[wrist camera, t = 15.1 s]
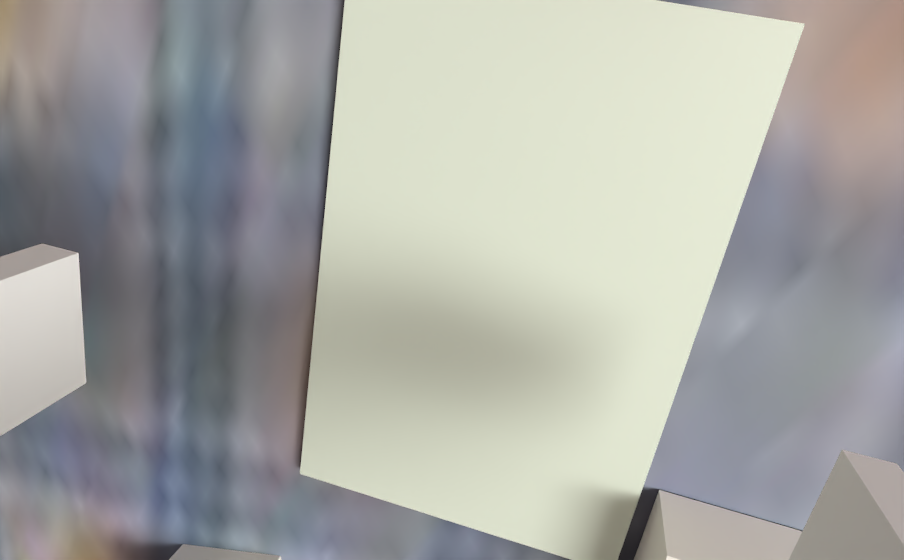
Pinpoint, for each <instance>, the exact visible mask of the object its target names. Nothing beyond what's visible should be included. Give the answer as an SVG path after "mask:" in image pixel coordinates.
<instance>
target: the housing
mask: <svg viewBox="0 0 904 560" xmlns="http://www.w3.org/2000/svg"><path fill="white" fill-rule="evenodd" d="M801 533H802V531H799V530H796V529H793V528H789V527H786V526H782V525H779V524H775V523H772V522H768V521H765V520H762V519H758V518H755V517H751V516H748V515H744V514H741V513H737V512H734V511H731V510H727V509H724V508H720V507H717V506H713V505H710V504H706V503H703V502H700V501H696V500H693V499H689V498H686V497H682V496H679V495H675V494H672V493H669V492H665V491H662V490H659V492H658V494H657V497H656V500H655V503H654V505H653V508H652V511H651V514H650V516H649V519H648V522H647V525H646V527H645V530H644V533H643V536H642V539H641V541H640V544H639V547H638V550H637V552H636V555H635V558H634V560H789V558H790V556H791V554H792V552H793V550H794V548H795V546H796V544H797V542H798V540H799V537H800V535H801Z"/></svg>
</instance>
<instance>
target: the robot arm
mask: <svg viewBox="0 0 904 560" xmlns="http://www.w3.org/2000/svg"><path fill="white" fill-rule="evenodd" d="M85 383H86V368H85V352H84V335H83V319H82V302H81V286H80V269H79V253H77V252H73V251H69V250H66V249H62V248H58V247H54V246H50V245H46V244H39V245H36V246H33V247H29V248H26V249H23V250H20V251H17V252H14V253H10V254H7V255H4V256H1V257H0V436H1V435H3V434H4V433H6V432H8V431H9V430H11V429H13V428H14V427H16V426H17V425H19V424H21V423H22V422H24V421H25V420H27V419H29V418H30V417H32V416H34V415H35V414H37V413H38V412H40V411H42V410H43V409H45V408H47V407H48V406H50V405H51V404H53V403H55V402H56V401H58V400H60V399H61V398H63V397H64V396H66V395H68V394H69V393H71V392H73V391H74V390H76V389H77V388H79V387H81V386H82V385H84V384H85ZM789 560H904V472H903V471H902V470H901V469H900V467H899V466H898V465H897V464H896V463H892V462H888V461H884V460H880V459H876V458H872V457H869V456H865V455H861V454H857V453H853V452H849V451H845V450H842V451H841V453H840V455H839V457H838V459H837V461H836V463H835V465H834V467H833V469H832V472H831V474H830V476H829V478H828V480H827V482H826V484H825V486H824V488H823V490H822V492H821V494H820V496H819V498H818V500H817V502H816V505H815V507H814V509H813V511H812V513H811V515H810V517H809V519H808V521H807V523H806V525H805V527H804V529H803V531H802V533H801V535H800V537H799V540H798V542H797V544H796V546H795V548H794V550H793V552H792V554H791V556H790V558H789Z"/></svg>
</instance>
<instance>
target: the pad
mask: <svg viewBox="0 0 904 560" xmlns="http://www.w3.org/2000/svg"><path fill="white" fill-rule="evenodd" d="M804 25H805V24H802V23H796V22H790V21H783V20H777V19H771V18H764V17H758V16H752V15H745V14H739V13H733V12H726V11H720V10H714V9H707V8H701V7H695V6H689V5H682V4H676V3H670V2H663V1H657V0H345V2H344V13H343V24H342V34H341V45H340V55H339V66H338V76H337V87H336V98H335V108H334V119H333V129H332V140H331V150H330V161H329V172H328V182H327V193H326V203H325V214H324V224H323V235H322V246H321V256H320V267H319V277H318V288H317V298H316V309H315V320H314V330H313V341H312V351H311V362H310V372H309V383H308V394H307V404H306V415H305V425H304V436H303V447H302V457H301V468H300V474H302V475H306V476H309V477H312V478H315V479H318V480H321V481H325V482H328V483H331V484H334V485H337V486H340V487H343V488H347V489H350V490H353V491H356V492H359V493H362V494H366V495H369V496H372V497H375V498H378V499H381V500H385V501H388V502H391V503H394V504H397V505H400V506H404V507H407V508H410V509H413V510H416V511H419V512H422V513H426V514H429V515H432V516H435V517H438V518H441V519H445V520H448V521H451V522H454V523H457V524H460V525H464V526H467V527H470V528H473V529H476V530H479V531H482V532H486V533H489V534H492V535H495V536H498V537H501V538H505V539H508V540H511V541H514V542H517V543H520V544H524V545H527V546H530V547H533V548H536V549H539V550H542V551H546V552H549V553H552V554H555V555H558V556H561V557H565V558H568V559H571V560H618V557H619V554H620V552H621V549H622V546H623V543H624V540H625V537H626V534H627V532H628V529H629V526H630V523H631V520H632V517H633V514H634V511H635V509H636V506H637V503H638V500H639V497H640V494H641V491H642V489H643V486H644V483H645V480H646V477H647V474H648V471H649V469H650V466H651V463H652V460H653V457H654V454H655V451H656V448H657V446H658V443H659V440H660V437H661V434H662V431H663V428H664V426H665V423H666V420H667V417H668V414H669V411H670V408H671V406H672V403H673V400H674V397H675V394H676V391H677V388H678V385H679V383H680V380H681V377H682V374H683V371H684V368H685V365H686V363H687V360H688V357H689V354H690V351H691V348H692V345H693V343H694V340H695V337H696V334H697V331H698V328H699V325H700V323H701V320H702V317H703V314H704V311H705V308H706V305H707V302H708V300H709V297H710V294H711V291H712V288H713V285H714V282H715V280H716V277H717V274H718V271H719V268H720V265H721V262H722V260H723V257H724V254H725V251H726V248H727V245H728V242H729V239H730V237H731V234H732V231H733V228H734V225H735V222H736V219H737V217H738V214H739V211H740V208H741V205H742V202H743V199H744V197H745V194H746V191H747V188H748V185H749V182H750V179H751V177H752V174H753V171H754V168H755V165H756V162H757V159H758V156H759V154H760V151H761V148H762V145H763V142H764V139H765V136H766V134H767V131H768V128H769V125H770V122H771V119H772V116H773V114H774V111H775V108H776V105H777V102H778V99H779V96H780V93H781V91H782V88H783V85H784V82H785V79H786V76H787V73H788V71H789V68H790V65H791V62H792V59H793V56H794V53H795V51H796V48H797V45H798V42H799V39H800V36H801V33H802V31H803V28H804Z"/></svg>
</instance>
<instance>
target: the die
mask: <svg viewBox="0 0 904 560" xmlns="http://www.w3.org/2000/svg"><path fill="white" fill-rule="evenodd" d="M169 560H281V556H277V555H269V554H260V553H252V552H244V551H236V550H227V549H219V548H211V547H202V546H194V545H186V544H183V545H182V546H181V547H180V548H179V549H178V550H177V551H176V552H175V554H174V555H173V556H172V557H171V558H170V559H169Z"/></svg>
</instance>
